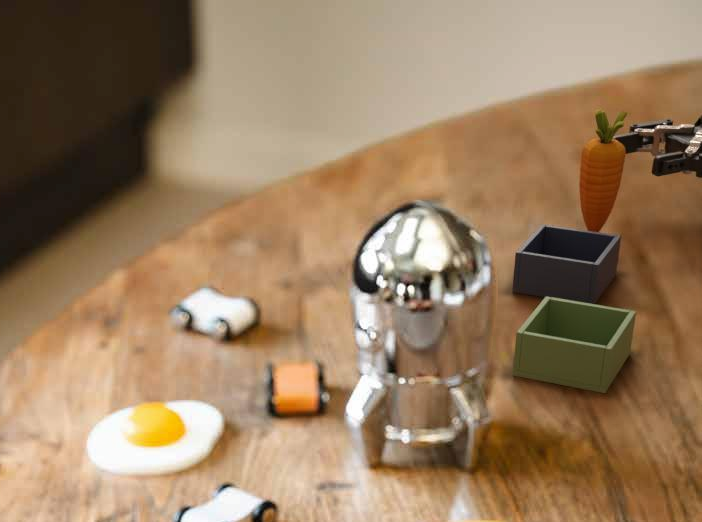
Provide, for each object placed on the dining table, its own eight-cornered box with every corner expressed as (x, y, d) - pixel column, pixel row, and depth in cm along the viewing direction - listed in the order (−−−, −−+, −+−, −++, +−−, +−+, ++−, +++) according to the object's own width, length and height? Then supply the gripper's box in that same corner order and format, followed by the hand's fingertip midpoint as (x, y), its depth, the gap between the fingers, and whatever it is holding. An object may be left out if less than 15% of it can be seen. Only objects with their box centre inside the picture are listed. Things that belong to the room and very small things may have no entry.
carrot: (613, 229, 148) (630, 102, 139) (614, 244, 144) (632, 115, 135) (572, 228, 148) (586, 101, 139) (572, 243, 145) (587, 114, 136)
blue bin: (616, 274, 137) (621, 235, 134) (593, 305, 130) (598, 265, 127) (537, 262, 140) (541, 223, 137) (512, 292, 134) (515, 252, 131)
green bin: (630, 353, 121) (636, 311, 118) (605, 393, 114) (611, 349, 112) (541, 337, 124) (545, 296, 122) (512, 375, 118) (516, 332, 115)
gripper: (709, 90, 150) (600, 108, 145) (790, 119, 139) (675, 140, 134) (698, 151, 154) (592, 171, 149) (776, 183, 144) (664, 206, 139)
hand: (632, 156), depth 142 cm, fingers open, 8 cm apart
